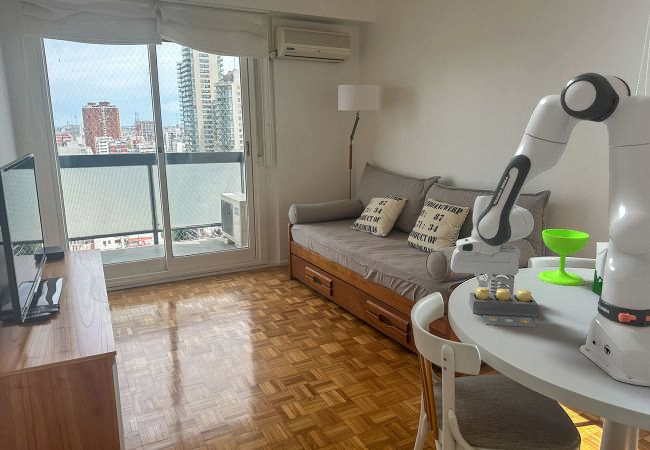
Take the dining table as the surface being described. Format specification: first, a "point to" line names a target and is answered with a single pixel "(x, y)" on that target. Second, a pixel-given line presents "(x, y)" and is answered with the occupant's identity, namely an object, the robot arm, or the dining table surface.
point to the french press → (503, 282)
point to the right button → (523, 296)
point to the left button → (482, 294)
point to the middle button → (502, 295)
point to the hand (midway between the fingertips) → (482, 286)
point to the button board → (505, 310)
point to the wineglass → (563, 254)
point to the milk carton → (600, 267)
